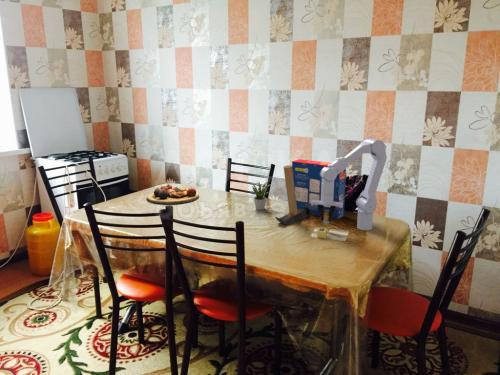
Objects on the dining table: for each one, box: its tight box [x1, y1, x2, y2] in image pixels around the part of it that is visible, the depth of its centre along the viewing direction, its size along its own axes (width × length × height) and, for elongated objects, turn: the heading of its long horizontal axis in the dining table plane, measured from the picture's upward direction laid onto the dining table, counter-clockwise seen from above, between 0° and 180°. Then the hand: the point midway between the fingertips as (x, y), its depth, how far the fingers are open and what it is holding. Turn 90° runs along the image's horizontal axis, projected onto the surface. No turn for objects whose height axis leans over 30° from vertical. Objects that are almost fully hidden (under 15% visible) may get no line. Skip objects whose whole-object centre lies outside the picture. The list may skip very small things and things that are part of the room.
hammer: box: [274, 164, 311, 226], centre depth 218 cm, size 20×5×30 cm, turn 129°
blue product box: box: [291, 158, 347, 220], centre depth 232 cm, size 28×8×28 cm, turn 53°
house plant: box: [250, 180, 273, 211], centre depth 243 cm, size 14×14×16 cm
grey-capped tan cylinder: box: [322, 210, 330, 225], centre depth 204 cm, size 3×3×6 cm
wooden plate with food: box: [147, 183, 200, 205], centre depth 268 cm, size 32×32×8 cm
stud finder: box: [317, 227, 329, 239], centre depth 198 cm, size 5×4×3 cm
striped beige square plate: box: [309, 227, 350, 242], centre depth 201 cm, size 14×16×1 cm
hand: (326, 220), depth 204 cm, fingers closed on grey-capped tan cylinder, 3 cm apart
